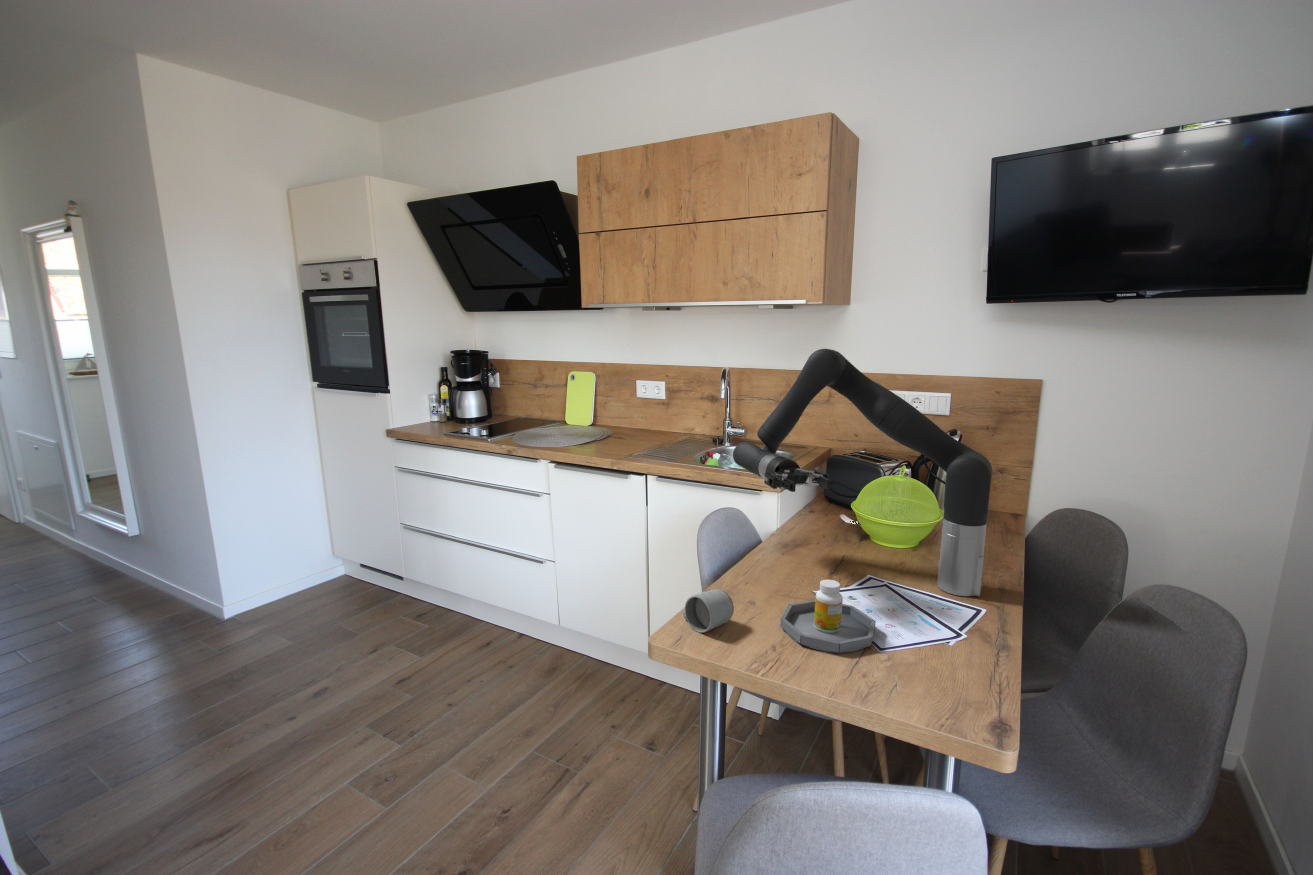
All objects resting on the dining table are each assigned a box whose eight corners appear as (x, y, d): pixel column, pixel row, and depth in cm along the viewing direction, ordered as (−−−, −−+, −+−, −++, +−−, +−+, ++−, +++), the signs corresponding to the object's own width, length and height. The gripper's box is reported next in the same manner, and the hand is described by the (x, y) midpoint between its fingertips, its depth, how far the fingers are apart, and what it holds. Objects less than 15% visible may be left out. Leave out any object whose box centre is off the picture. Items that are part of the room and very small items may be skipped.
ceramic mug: (736, 625, 128) (736, 590, 127) (710, 638, 122) (710, 602, 121) (699, 609, 135) (699, 576, 134) (673, 621, 130) (673, 587, 129)
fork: (897, 537, 185) (897, 531, 185) (838, 521, 199) (838, 515, 199) (901, 535, 187) (902, 529, 187) (843, 518, 201) (843, 513, 201)
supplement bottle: (809, 621, 128) (812, 578, 126) (833, 620, 129) (836, 577, 127) (819, 634, 123) (822, 589, 121) (844, 632, 124) (848, 588, 122)
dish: (877, 620, 130) (878, 610, 130) (868, 661, 114) (868, 649, 114) (793, 604, 137) (794, 594, 137) (773, 640, 121) (774, 629, 121)
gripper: (752, 457, 148) (783, 471, 133) (805, 454, 152) (840, 467, 137) (752, 487, 150) (782, 504, 134) (804, 483, 153) (839, 499, 138)
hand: (811, 486), depth 135 cm, fingers open, 8 cm apart
